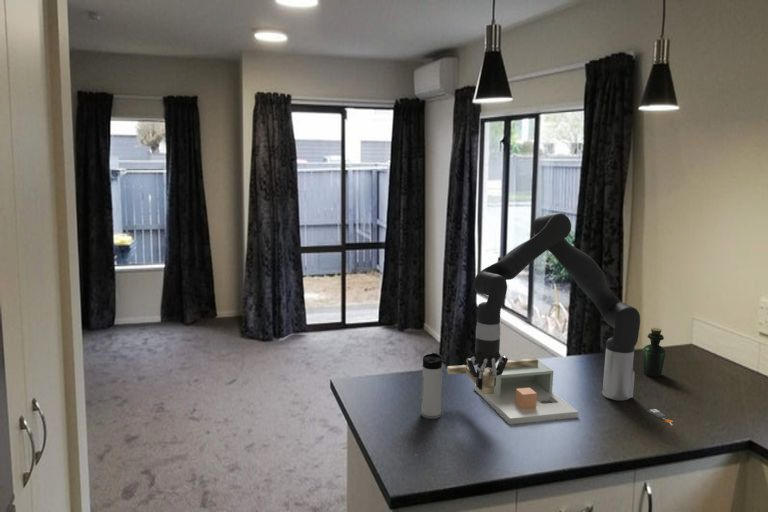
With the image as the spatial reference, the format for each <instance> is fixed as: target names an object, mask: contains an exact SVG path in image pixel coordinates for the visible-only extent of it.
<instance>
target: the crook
mask: <svg viewBox="0 0 768 512" xmlns="http://www.w3.org/2000/svg"><path fill="white" fill-rule="evenodd" d="M446 373H447V375H451V376H452V375H460V374H461V375H462V374H464V375H465V374H466V376H467V377H468V378H470V379H471V381H472V382H473V383H474V385H475V384H476V377H473V375H471V373H470V371H469V368H468V365H467V364H462V365H448V366H446ZM482 379H483V380H482V389H481V390H480V389H479V388H478V387H477V386H476V387H477V388H478V389H479V390H480V391H481V392H482V393H483V394H494V382H495V375H494V374H492V373H491V372H490V371H489V370H488V369H487V368H486V369H485V371H484V372H483V376H482Z"/></svg>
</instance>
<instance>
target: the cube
mask: <svg viewBox="0 0 768 512" xmlns="http://www.w3.org/2000/svg"><path fill="white" fill-rule="evenodd" d="M536 401H537V393H536V392H535V391H533V390H532V389H531V388H520V389H516V398H515V403H516V404H517V405H518V406H519V407H520V408H521V409H529V408H536Z"/></svg>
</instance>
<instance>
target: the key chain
mask: <svg viewBox="0 0 768 512" xmlns="http://www.w3.org/2000/svg"><path fill="white" fill-rule="evenodd" d="M646 412H647V413H648V414H649V415H651V416H653V417H656V418H658V419H660V420H664V422H665V423H668V424H670V426H674V424H673V423H674V421H673V420H671V419H667V415H665V414H664V413H663V412H661V411H660V410H658V409H656V408H650V409H648V410H647V411H646Z"/></svg>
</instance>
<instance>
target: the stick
mask: <svg viewBox="0 0 768 512" xmlns="http://www.w3.org/2000/svg"><path fill="white" fill-rule="evenodd" d="M538 360H539V359H538V358H536V357H534V358H522V359H521V358H520V359H519V358H517V359H508V361H507V363H506V366H505V368H504V369H506V368H519V367H531V366H538Z"/></svg>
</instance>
